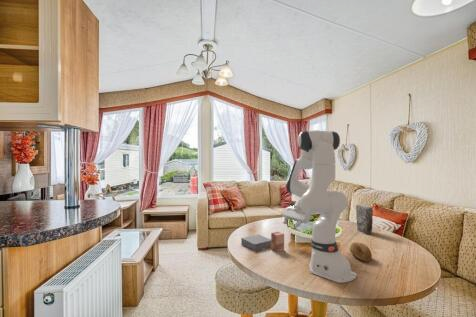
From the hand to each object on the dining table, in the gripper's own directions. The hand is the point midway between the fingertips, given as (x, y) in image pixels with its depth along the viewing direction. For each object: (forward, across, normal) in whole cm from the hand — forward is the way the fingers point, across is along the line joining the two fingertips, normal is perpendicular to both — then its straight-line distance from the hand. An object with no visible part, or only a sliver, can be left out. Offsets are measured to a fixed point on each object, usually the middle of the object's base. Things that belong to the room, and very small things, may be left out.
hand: (289, 225), depth 159 cm
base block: (+21, -13, -2) cm, 25 cm away
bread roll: (-5, +34, +25) cm, 42 cm away
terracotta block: (+17, 0, +2) cm, 17 cm away
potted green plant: (-16, -33, +36) cm, 52 cm away
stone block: (-40, +8, +59) cm, 72 cm away
